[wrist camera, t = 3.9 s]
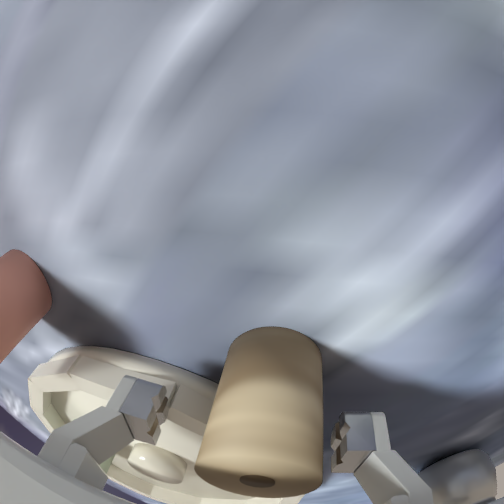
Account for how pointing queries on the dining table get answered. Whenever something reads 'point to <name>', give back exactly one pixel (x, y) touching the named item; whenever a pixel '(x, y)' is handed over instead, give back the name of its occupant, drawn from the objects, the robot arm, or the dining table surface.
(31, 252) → the dining table surface
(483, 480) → the silver metal bottle
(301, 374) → the bead
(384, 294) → the dining table surface
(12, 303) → the bead
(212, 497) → the tray
